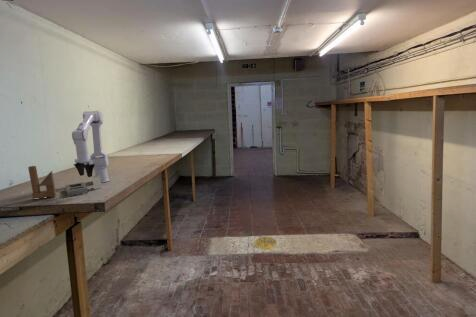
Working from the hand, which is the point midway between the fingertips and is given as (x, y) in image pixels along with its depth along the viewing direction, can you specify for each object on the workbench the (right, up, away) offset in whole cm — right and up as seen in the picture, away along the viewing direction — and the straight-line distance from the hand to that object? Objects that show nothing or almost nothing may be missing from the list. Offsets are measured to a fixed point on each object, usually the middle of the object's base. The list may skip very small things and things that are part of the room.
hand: (86, 176), depth 186 cm
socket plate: (-8, -9, +5) cm, 13 cm away
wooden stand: (-21, -12, -3) cm, 24 cm away
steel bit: (+2, -8, +10) cm, 13 cm away
